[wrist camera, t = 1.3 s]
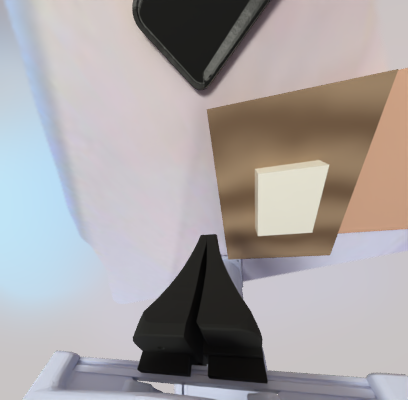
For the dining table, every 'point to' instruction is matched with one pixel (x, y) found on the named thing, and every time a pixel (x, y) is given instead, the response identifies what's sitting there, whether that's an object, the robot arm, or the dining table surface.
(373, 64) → the dining table surface
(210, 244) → the robot arm
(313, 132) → the butcher block
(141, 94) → the dining table surface
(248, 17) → the phone
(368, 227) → the mat
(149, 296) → the dining table surface
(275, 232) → the tile
